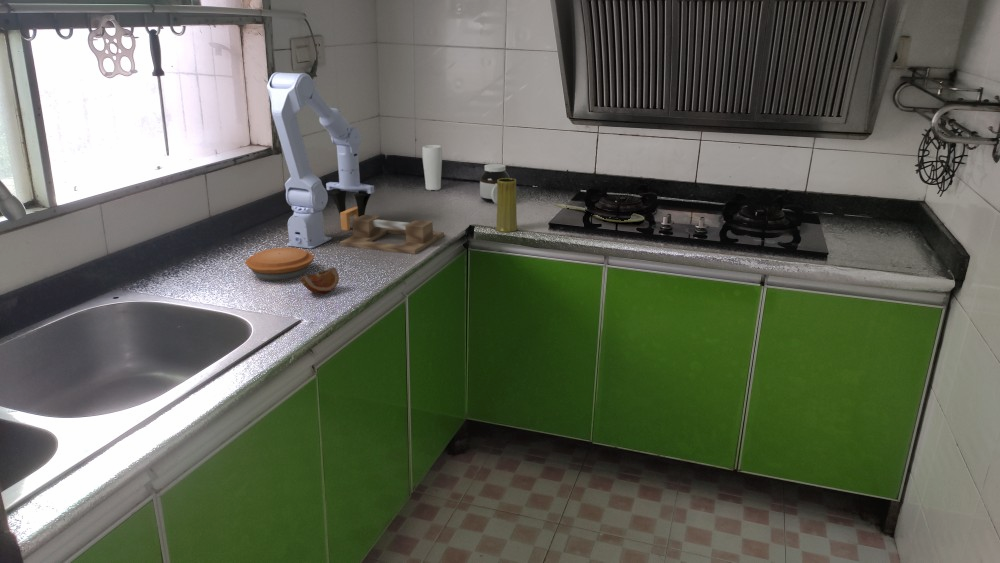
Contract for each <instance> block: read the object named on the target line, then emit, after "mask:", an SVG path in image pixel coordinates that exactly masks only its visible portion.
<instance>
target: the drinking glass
mask: <svg viewBox="0 0 1000 563" xmlns="http://www.w3.org/2000/svg"><path fill="white" fill-rule="evenodd" d="M421 150H422V151H421V155H422V156H421V158H422V165H423V166H422V167H423V174H424V181H425V182H424V183H425V189H426V190H427V191H431V190H435V191H439V190H441V188H442V165H443V164H442V163H443V148H442V145H439V144H427V145H423V146H422V148H421Z"/></svg>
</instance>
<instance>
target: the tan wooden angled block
mask: <svg viewBox="0 0 1000 563" xmlns="http://www.w3.org/2000/svg"><path fill="white" fill-rule="evenodd" d="M339 216H340V227H341V228H340V230H341V231H349V230H351V221H350V219H351V218H350V217H354V219H356V218H358V217H359V216H358V207H357V205H355V206H352V207H350V208H348V209H346V210H345V211H343V212H341V213H340V214H339Z"/></svg>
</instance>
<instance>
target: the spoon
mask: <svg viewBox="0 0 1000 563" xmlns="http://www.w3.org/2000/svg"><path fill="white" fill-rule="evenodd" d="M566 206H567V207H566ZM555 207H559V208H562V209H567V208H569V209H570V210H579V211H584V212H586V211H585V207H581V206H574V205H571V204H570V205H568V204H563V203H556V204H555ZM592 216H594V217H595V218H597V219H600V220H602V221H605V222H610V223H633V222H642V221H645V216H643V215H641V214H637V213H633V214H632V215H631V218H630V219H628V220H624V221H621V220H620V219H618V220H615V219H611V218H606V219H604V218H602V217H600V216H598V215H592Z"/></svg>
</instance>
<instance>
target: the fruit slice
mask: <svg viewBox="0 0 1000 563" xmlns="http://www.w3.org/2000/svg"><path fill="white" fill-rule="evenodd" d="M339 281H340V276H339V273H338V271H337V268H336V267H332V268H327V269H326V270H321V271H317V272H316V273H311V274H307V275H302V276H301V278H300V282H301V284H302V285H303V286H304V287H305V288H306V289H307V290H308V291H309V292H311V293H314V294H319V295H325V294H328V293H330V292H333V291H334V289H335V288H336V287H337V285H338V284H339Z"/></svg>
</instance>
